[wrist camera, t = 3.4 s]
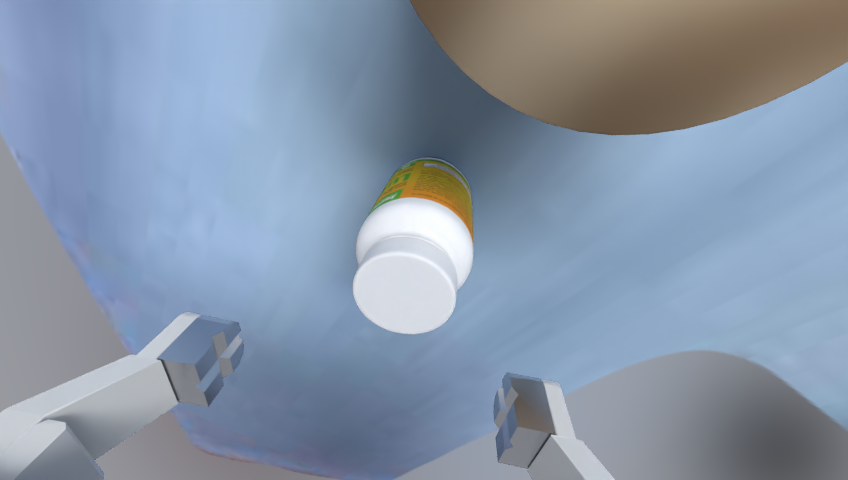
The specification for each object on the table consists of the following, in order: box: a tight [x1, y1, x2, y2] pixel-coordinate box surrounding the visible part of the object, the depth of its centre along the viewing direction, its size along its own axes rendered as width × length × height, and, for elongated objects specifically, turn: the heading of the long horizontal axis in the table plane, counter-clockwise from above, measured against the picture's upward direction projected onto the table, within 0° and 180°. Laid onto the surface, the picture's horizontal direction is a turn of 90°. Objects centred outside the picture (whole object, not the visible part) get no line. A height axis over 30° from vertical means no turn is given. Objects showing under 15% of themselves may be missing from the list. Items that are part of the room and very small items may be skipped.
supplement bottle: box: [353, 157, 473, 334], centre depth 17 cm, size 6×6×10 cm
